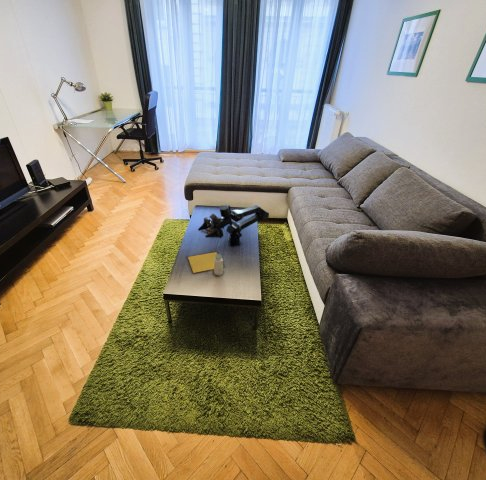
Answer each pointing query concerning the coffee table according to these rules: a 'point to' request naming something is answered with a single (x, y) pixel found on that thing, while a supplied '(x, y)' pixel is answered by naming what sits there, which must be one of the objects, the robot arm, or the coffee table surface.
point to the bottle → (218, 264)
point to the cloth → (202, 262)
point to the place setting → (211, 228)
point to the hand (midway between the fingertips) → (201, 233)
